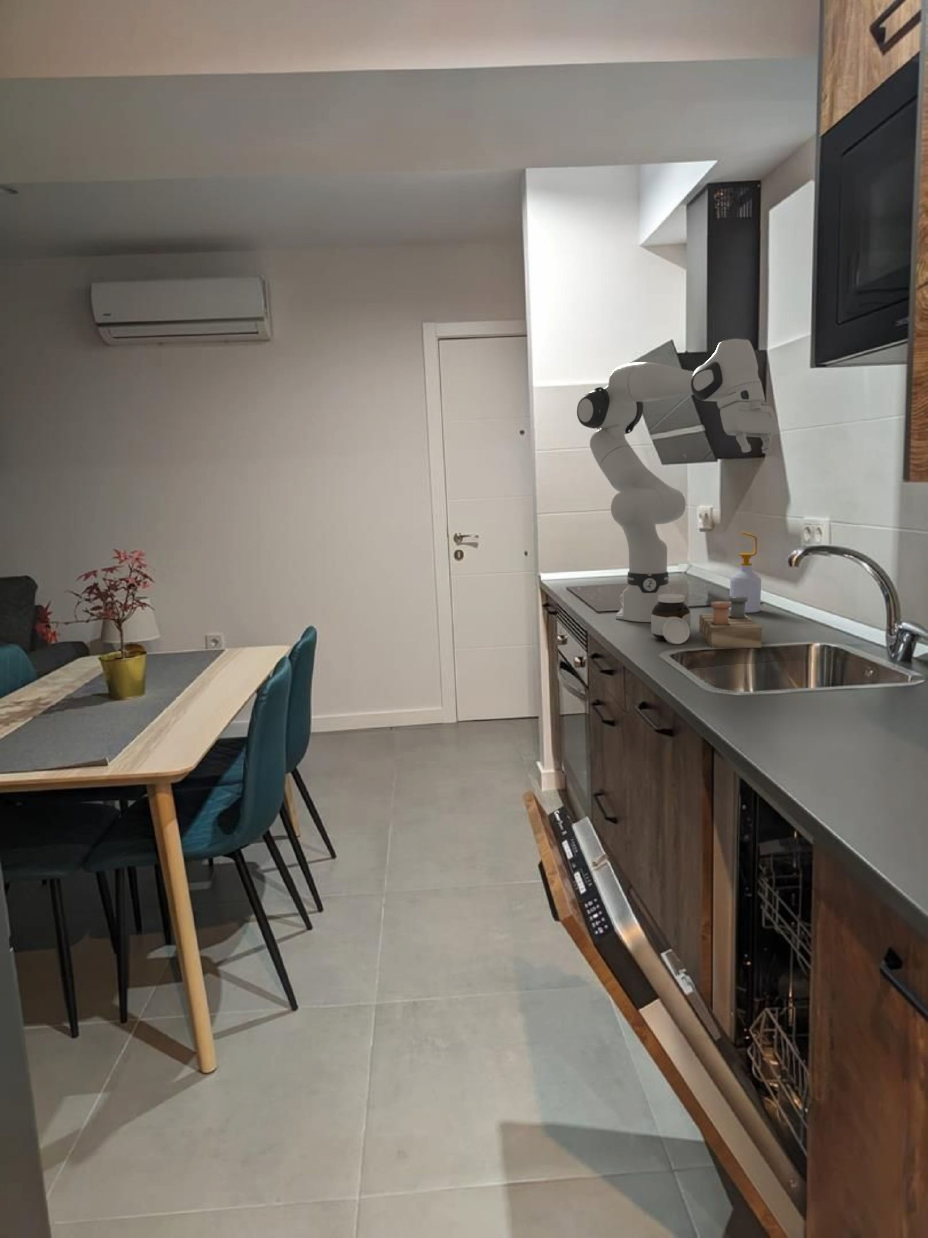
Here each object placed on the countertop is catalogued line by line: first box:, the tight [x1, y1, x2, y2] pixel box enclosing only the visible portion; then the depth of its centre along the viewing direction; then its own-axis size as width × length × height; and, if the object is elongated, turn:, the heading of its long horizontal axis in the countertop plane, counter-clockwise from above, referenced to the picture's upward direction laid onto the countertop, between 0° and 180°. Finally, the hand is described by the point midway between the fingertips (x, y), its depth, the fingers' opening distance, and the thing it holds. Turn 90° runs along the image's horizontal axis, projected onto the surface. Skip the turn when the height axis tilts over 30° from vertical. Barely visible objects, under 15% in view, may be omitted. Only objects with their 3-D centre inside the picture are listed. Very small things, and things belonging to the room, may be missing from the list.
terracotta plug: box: [710, 600, 731, 626], centre depth 216 cm, size 5×5×7 cm
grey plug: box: [728, 595, 748, 619], centre depth 224 cm, size 5×5×7 cm
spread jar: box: [650, 593, 691, 645], centre depth 221 cm, size 12×11×12 cm
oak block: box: [698, 613, 763, 649], centre depth 221 cm, size 20×12×5 cm, turn 173°
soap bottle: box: [728, 531, 762, 614], centre depth 261 cm, size 9×9×25 cm
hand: (757, 452), depth 213 cm, fingers open, 8 cm apart
